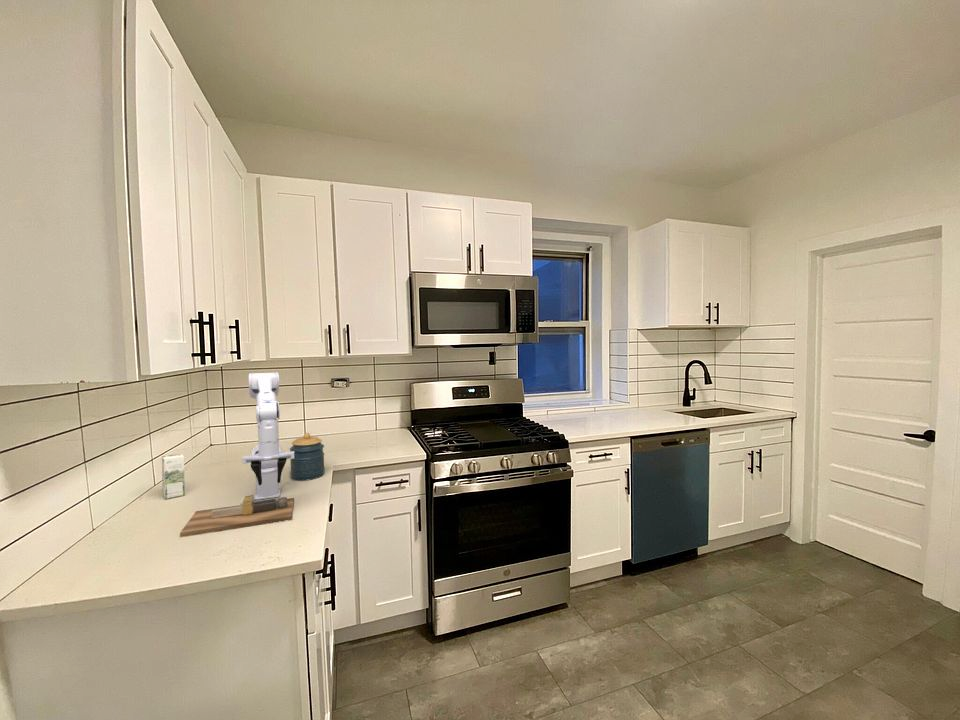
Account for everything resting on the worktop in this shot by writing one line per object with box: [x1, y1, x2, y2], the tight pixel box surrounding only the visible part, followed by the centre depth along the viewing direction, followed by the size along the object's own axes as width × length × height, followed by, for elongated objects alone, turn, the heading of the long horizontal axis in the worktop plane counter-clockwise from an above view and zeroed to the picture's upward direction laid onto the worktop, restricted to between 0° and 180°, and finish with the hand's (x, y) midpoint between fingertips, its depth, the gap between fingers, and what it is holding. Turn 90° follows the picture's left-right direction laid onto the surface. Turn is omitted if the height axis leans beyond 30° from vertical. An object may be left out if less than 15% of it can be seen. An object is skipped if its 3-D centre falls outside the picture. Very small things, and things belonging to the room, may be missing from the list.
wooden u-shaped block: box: [241, 494, 256, 515], centre depth 125 cm, size 6×2×4 cm, turn 22°
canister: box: [289, 432, 326, 481], centre depth 164 cm, size 13×13×18 cm
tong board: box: [179, 496, 295, 538], centre depth 124 cm, size 16×28×4 cm, turn 112°
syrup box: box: [161, 452, 186, 500], centre depth 143 cm, size 6×6×14 cm
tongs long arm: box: [211, 501, 276, 518], centre depth 124 cm, size 2×17×2 cm, turn 112°
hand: (269, 483), depth 127 cm, fingers open, 5 cm apart
